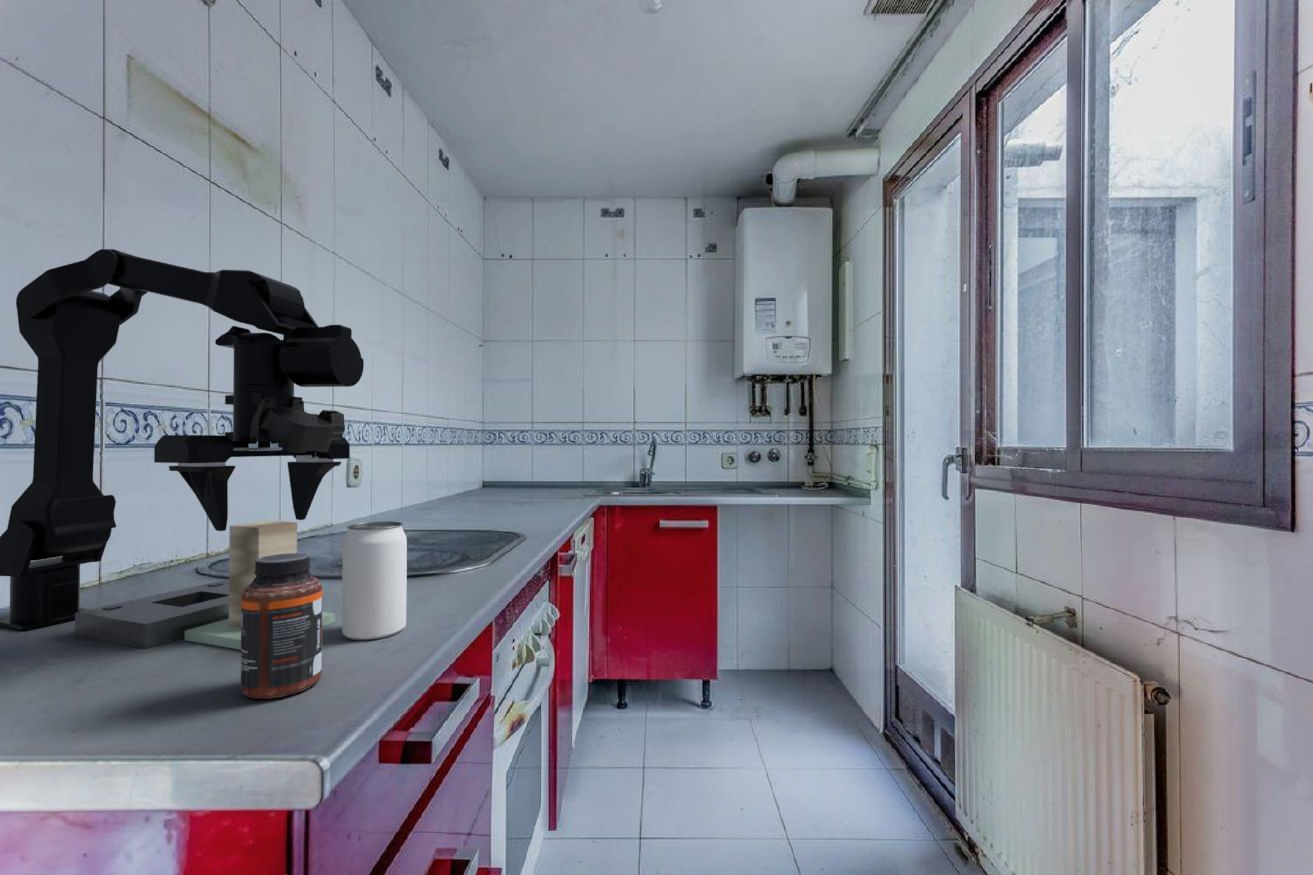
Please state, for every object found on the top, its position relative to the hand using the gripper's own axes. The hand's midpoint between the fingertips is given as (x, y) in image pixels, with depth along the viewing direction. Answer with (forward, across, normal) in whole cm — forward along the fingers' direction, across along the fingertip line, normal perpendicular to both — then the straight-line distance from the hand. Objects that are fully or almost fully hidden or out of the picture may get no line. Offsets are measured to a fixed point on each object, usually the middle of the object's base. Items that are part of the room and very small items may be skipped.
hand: (263, 524), depth 65 cm
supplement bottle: (+12, -10, -16) cm, 23 cm away
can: (+12, +4, -12) cm, 18 cm away
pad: (+12, 0, 0) cm, 12 cm away
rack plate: (+12, 0, +12) cm, 17 cm away
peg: (+11, 0, 0) cm, 11 cm away
